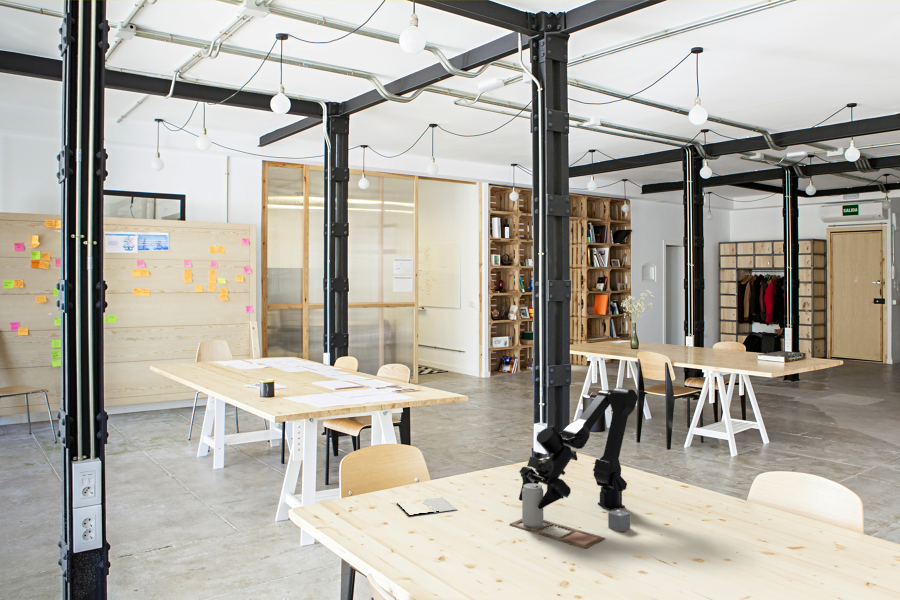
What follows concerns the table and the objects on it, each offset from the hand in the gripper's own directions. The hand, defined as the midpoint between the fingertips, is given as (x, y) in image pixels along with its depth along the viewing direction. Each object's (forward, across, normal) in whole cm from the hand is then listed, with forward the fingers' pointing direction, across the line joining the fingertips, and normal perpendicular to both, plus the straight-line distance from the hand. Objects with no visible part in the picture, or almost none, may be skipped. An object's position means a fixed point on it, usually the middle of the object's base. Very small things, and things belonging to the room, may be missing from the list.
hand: (529, 504), depth 196 cm
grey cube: (-11, +16, +20) cm, 28 cm away
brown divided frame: (+2, +8, +7) cm, 11 cm away
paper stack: (+21, -28, -11) cm, 37 cm away
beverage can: (+4, 0, +6) cm, 7 cm away
